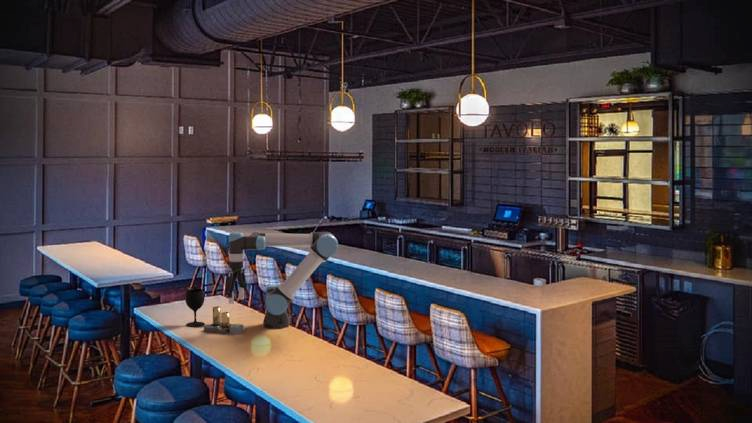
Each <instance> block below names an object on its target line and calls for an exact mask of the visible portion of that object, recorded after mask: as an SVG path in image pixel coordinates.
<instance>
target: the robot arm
mask: <svg viewBox="0 0 752 423" xmlns="http://www.w3.org/2000/svg"><path fill="white" fill-rule="evenodd" d="M266 247H271V248H272V247H275V248H276V247H279V248H282V247H283V248H288V247H289V248H309V253H307V255H306V256H305V257H304V258H303V259H302V261H300V263H299V264H298V265H297V266H296V268H294V270H293V271H292V272H291V273H290V275H289V276H288V277H287V278H285V280H284V281H283V282H282V284H278V285H277V284H276V285H275V284H274V285H267V286H266V288H265V292H266V293H265V303H264V306H265V309H266V310H265V315H264V318H263V321H262V326H263V327H264V328H267V329H283V328H288V327H289V326H290V325H291V322H290V317H289V315H288V311H287V310H288V306H290V304H291V303H292V301H293V300H294V295H295V294H296V293H297V291H298V290H299V289H300V288H301V287H302V285H304V284H305V282H306V281H307V280H308V279H309V278H310V277H311V275H312V274H314V272H315V270H316V269H317V268H318V267H319V266H320V265H321V264H322V263H324V262H327V261H328V260H329V259H330V257H332V256H334V255H335V254H336V252H337V251H338V248H339V242H338V239H337V238H336V237H335V234H333V233H332V232H329V231H318V232H317V231H314V232H313V231H312V232H310V233H278V232H277V233H276V232H274V233H270V232H265V233H264V232H263V233H262V232H257V231H256V232H252V233H251V234H250V235H244V233H243V232H239V231H234V232H230V233H229V234H228V259H229V260H228V261H229V262H228V268H229V269H230V272H227V273H226V275H227V276H226V277H227V279H226V285H225V286H226V287H225V292H228V304H229V305H230V304H232V305H234V304H235V294H234V293H235V292H234V288H235V283H236V281H237V282H238V285H239V287H238V300H242V301H243V300H245V288H246V286H247V279H246V272H245V271H246V269H245V268H244V251H261V250H265V249H266Z"/></svg>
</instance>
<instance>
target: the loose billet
mask: <svg viewBox="0 0 752 423" xmlns="http://www.w3.org/2000/svg"><path fill="white" fill-rule="evenodd" d="M221 313H222V312H221V306H219V305H217V306H212V323H214V322H219V323H221Z"/></svg>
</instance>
